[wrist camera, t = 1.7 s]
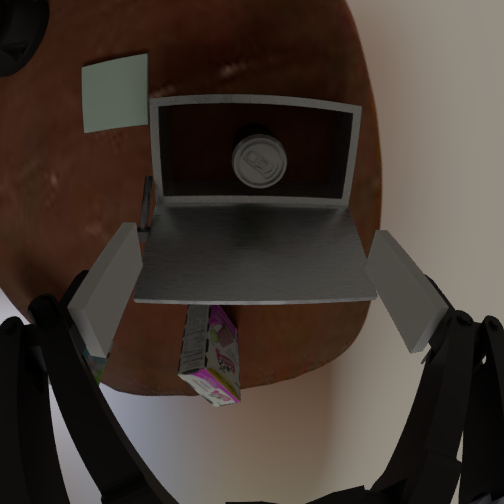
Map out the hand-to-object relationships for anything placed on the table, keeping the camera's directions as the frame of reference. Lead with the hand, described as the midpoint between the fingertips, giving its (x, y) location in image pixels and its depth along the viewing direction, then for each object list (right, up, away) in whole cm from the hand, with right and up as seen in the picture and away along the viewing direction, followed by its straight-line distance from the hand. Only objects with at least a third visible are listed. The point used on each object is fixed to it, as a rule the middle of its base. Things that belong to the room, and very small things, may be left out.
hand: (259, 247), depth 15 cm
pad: (-19, +21, +15) cm, 32 cm away
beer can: (0, +14, +21) cm, 25 cm away
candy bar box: (-7, -12, +37) cm, 39 cm away
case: (-1, +12, +22) cm, 25 cm away
